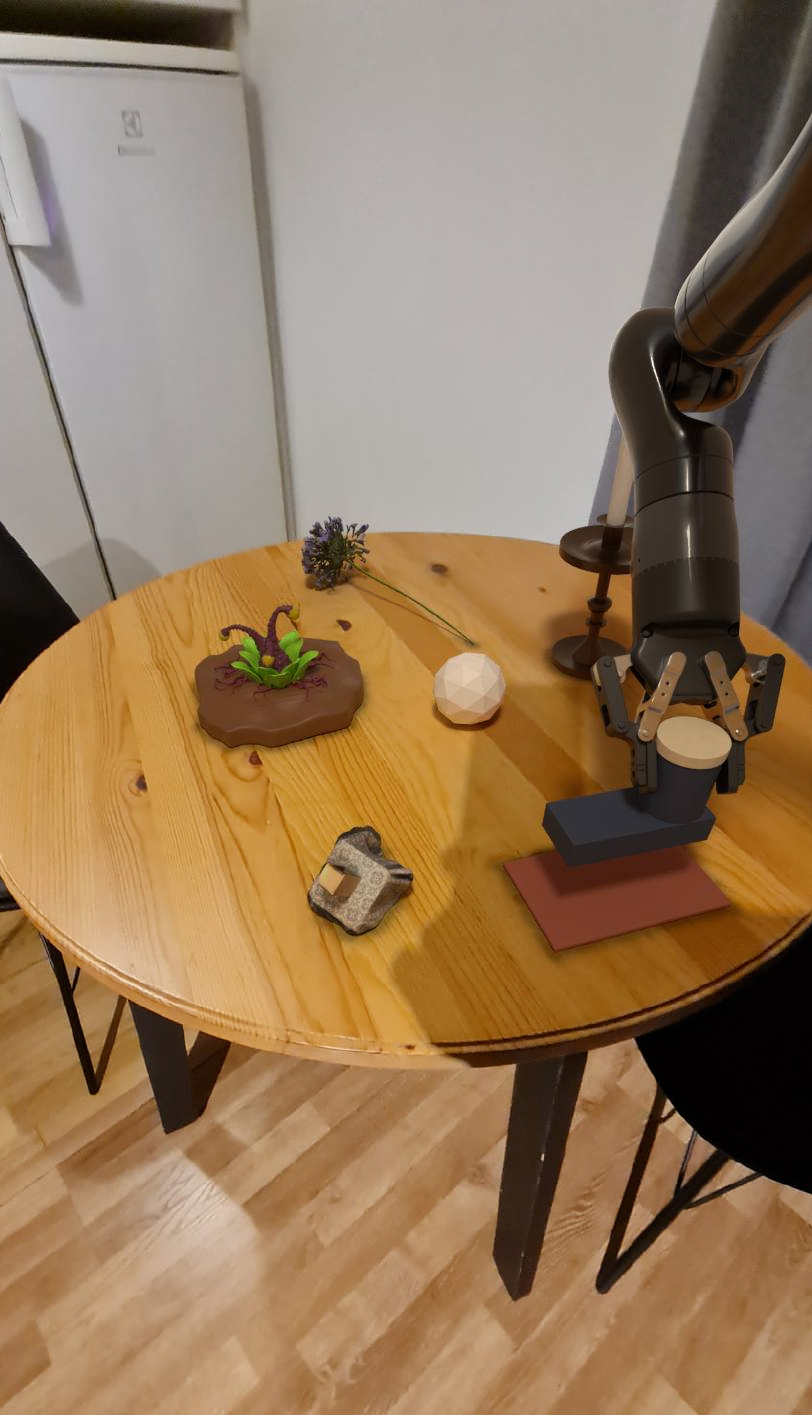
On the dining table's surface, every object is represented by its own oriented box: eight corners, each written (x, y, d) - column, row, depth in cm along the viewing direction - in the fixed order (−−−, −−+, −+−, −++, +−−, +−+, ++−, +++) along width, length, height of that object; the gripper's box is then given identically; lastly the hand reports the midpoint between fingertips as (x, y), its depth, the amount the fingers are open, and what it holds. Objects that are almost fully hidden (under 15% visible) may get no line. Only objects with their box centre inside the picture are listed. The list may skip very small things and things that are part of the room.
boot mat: (662, 827, 69) (663, 824, 69) (730, 906, 62) (732, 902, 62) (503, 866, 67) (503, 863, 66) (554, 952, 60) (555, 949, 59)
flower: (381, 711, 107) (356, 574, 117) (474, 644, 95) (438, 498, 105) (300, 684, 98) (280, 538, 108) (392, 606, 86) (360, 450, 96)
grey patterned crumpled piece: (439, 828, 66) (378, 878, 56) (431, 898, 68) (371, 957, 58) (357, 807, 69) (286, 851, 59) (352, 874, 72) (283, 927, 62)
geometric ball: (480, 744, 84) (504, 721, 77) (415, 717, 84) (433, 691, 76) (500, 686, 86) (526, 658, 78) (436, 659, 86) (456, 628, 78)
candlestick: (626, 637, 95) (701, 309, 71) (642, 684, 87) (732, 332, 63) (539, 637, 96) (584, 313, 72) (547, 683, 88) (601, 336, 64)
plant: (379, 732, 82) (377, 641, 75) (201, 758, 80) (181, 668, 73) (347, 643, 97) (342, 560, 89) (196, 664, 95) (178, 580, 87)
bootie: (674, 799, 63) (705, 711, 57) (709, 840, 60) (746, 751, 54) (540, 824, 62) (558, 736, 55) (568, 869, 58) (591, 780, 52)
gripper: (601, 554, 54) (604, 790, 53) (808, 550, 53) (814, 789, 52) (576, 590, 61) (578, 797, 60) (757, 586, 60) (761, 796, 60)
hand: (687, 792), depth 56 cm, fingers closed on bootie, 5 cm apart
